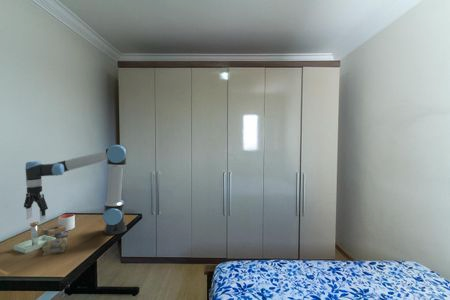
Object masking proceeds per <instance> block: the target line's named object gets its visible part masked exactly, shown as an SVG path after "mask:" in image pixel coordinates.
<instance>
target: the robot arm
mask: <svg viewBox="0 0 450 300" xmlns="http://www.w3.org/2000/svg"><path fill="white" fill-rule="evenodd" d="M127 155H128V151H127V148H126V147H125V146H124V145H122V144H113V145H112V146H109V147H108V148H105V149H104V150H102V151H97V152H94V153H90V154H86V155H81V156H77V157H74V158H70V159H67V160H62V161H57V162H54V163H45V164H44V163H43V164H42V163H41V161H40V160H38V161H37V160H36V161H27V162H25V168H24V169H25V177H26V179H25V186H26V193H25V199H24V203H23V208H25V209H26V220H30V219H33V204H34V202H35V203H36V204H37V206H38V208H39V222H44V221H47V220H46V210H48V209H49V208H48V207H49V206H48V205H47V202H46V199H45V194H44V193H42V192H43V185H42V184H43V183H42V181H43V179H42V178H43V177H50V176H53V177H54V176H55V177H56V176H63V175H64V173H65V172H69V171H73V170H76V169H81V168H84V167H88V166H93V165H95V164H96V165H97V164H100V163H104V162H107V163H106V164H107V166H108V167H109V169H108V170H109V171H108V181H107V182H108V183H107V185H108V186H107V201H105V203H104V206H103V210H104V211H103V214H102V220H103V222H104V223H105V228H104V229H103V233H104V234H105V235H107V236H110V235H111V236H113V235H118V234H123V233H125V232H126V231H127V225H126V222H125V213H124V211H125V210H124V209H125V206H124V205H125V203H124V200H123V199H122V190H123V176H124V175H123V173H124V172H123V171H124V167H125V166H126V164H127Z"/></svg>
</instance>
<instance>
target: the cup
mask: <svg viewBox="0 0 450 300" xmlns="http://www.w3.org/2000/svg"><path fill="white" fill-rule="evenodd" d="M75 217H76V215H75V214H74V213H73V214H71V213H69V214H63V215H60V216H58V225H60V226H65V227H66V232H68V231H72V230H73V229H74V228H76V224H75V223H76V221H75V220H76V219H75Z"/></svg>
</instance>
